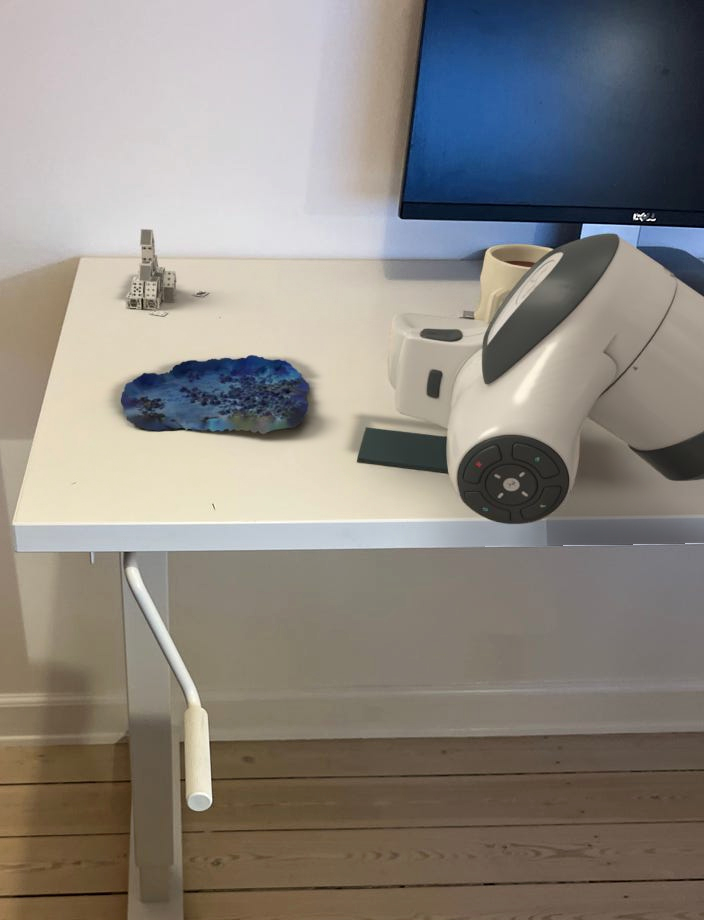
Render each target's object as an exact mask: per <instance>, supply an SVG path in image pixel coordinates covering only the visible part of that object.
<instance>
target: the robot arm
mask: <svg viewBox="0 0 704 920" xmlns="http://www.w3.org/2000/svg"><path fill="white" fill-rule="evenodd" d="M552 249H553V250H552V251H550V252H548V253H547V254H546V255H544V256H543V257H542V258H541V259H539V260H538V261H537V262H536V263H535V264H534V265H533V266H532V267H531V268H530V269H529V270H528V271H527V272H526V274H525V275H524V276H523V277H522V278H521V279H520V280H519V282H518V283H517V284H516V285H515V286H514V288H513V289H512V290H511V292H510V293H509V294H508V296H507V297H506V299H505V300H504V301H503V303H502V304H501V306H500V307H499V309H498V311H497V312H496V314H495V316H494V317H493V319H492V321H491V322H490V323H486V322H485V321H482V320H474V312H475V311H473V310H472V311H471V310H464V309H463V310H462V309H458V310H457V313H456V314H455V315H452V316H442V315H441V316H439V315H429V314H419V313H410V312H403V313H398V314H395V315H394V316H393V318H392V323H391V331H390V337H389V345H388V355H387V376H388V381H389V383H390V386H391V387H392V388H393V389H394V390H395V391H394V392H395V395H394V401H395V403H394V405H395V407H394V408H395V410H396V411H397V413H399V414H401V415H404V416H407V417H411V418H414V419H418V420H422V421H424V422H428V423H430V424H434V425H436V426H439V427H442V428H444V429H446V430H447V431H446V432H447V433H446V437H447V447H446V453H447V466H448V473H447V474H448V477H449V479H450V482H451V485H452V488H453V489H454V492H455V493H456V495H457V496H458V498H459V499H460V501H461V502H462V503H463V504H464V505H465V506H466V507H467V508H468V509H470V510H471V511H472V512H474V513H475V514H477V515H479V516H481V517H483V518H484V519H487V520H490V521H492V522H495V523H498V524H506V525H525V524H532V523H536V522H539V521H542V520H544V519H546V518H549V517H550V516H552V515H553V514H554V513H556V512H557V511H558V510H559V509H560V508H561V507H563V505H564V504H565V502H566V501H567V500H568V498H569V496H570V494H571V492H572V490H573V487H574V485H575V482H576V477H577V474H578V468H579V461H580V451H581V450H580V449H581V432H582V429H583V426H584V424H585V422H586V420H587V418H588V419H590V420H591V421H592V422H594V423H595V424H597V425H598V426H600V427H602V428H603V429H604V430H606V431H607V432H609V434H612V435H613V436H615V437H616V438H618V439H619V440H620V441H623V442H624V443H625V444H627V446H628V448H629V449H630V450H631V451H633V452H634V453H635V454H636V455H637V456H638V457H640V458H641V459H642V460H643V461H644V462H646V464H648V465H649V466H651V467H652V468H653V469H654V470H656V472H658V473H659V474H660V475H662V476H663V477H664V478H665V479H667V480H669V481H673V482H689V481H701V480H704V296H703V295H702V294H700V293H699V292H698V291H696V290H694V289H693V288H692V287H691V286H689V285H687V284H686V283H685V282H683V281H682V280H680V279H679V278H678V277H676V275H675V273H673V272H672V271H671V270H669V269H667V268H666V267H664V266H663V265H662V264H660V263H659V262H658V261H656V260H654V259H653V258H651V256H648V254H646V253H644V252H643V251H641V250H640V249H638V248H637V247H635V245H632V244H631V243H629V242H628V241H626V240H625V239H623V238H622V237H620V236H619V235H618V234H617V233H610V232H609V233H598V234H593V235H589V236H585V237H582V238H578V239H575V240H573V241H570V242H568V243H565V244H563V245H560V246H558V247H555V248H552Z"/></svg>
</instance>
